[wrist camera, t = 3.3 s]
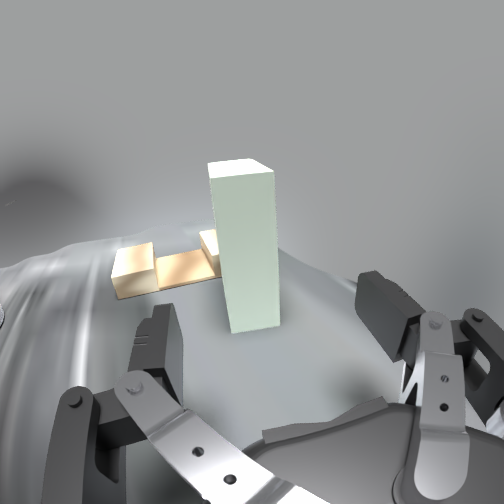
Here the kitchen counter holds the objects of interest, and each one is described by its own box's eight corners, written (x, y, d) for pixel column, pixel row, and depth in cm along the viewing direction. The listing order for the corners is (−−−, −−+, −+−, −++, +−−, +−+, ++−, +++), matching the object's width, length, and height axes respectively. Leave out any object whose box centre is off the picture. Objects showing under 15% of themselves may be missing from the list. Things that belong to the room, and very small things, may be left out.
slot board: (118, 299, 25) (111, 277, 24) (122, 268, 31) (117, 249, 30) (256, 268, 28) (254, 246, 27) (235, 244, 34) (233, 225, 33)
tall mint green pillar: (231, 333, 20) (210, 178, 15) (222, 279, 27) (207, 163, 22) (280, 325, 20) (273, 171, 16) (259, 274, 27) (250, 158, 23)
